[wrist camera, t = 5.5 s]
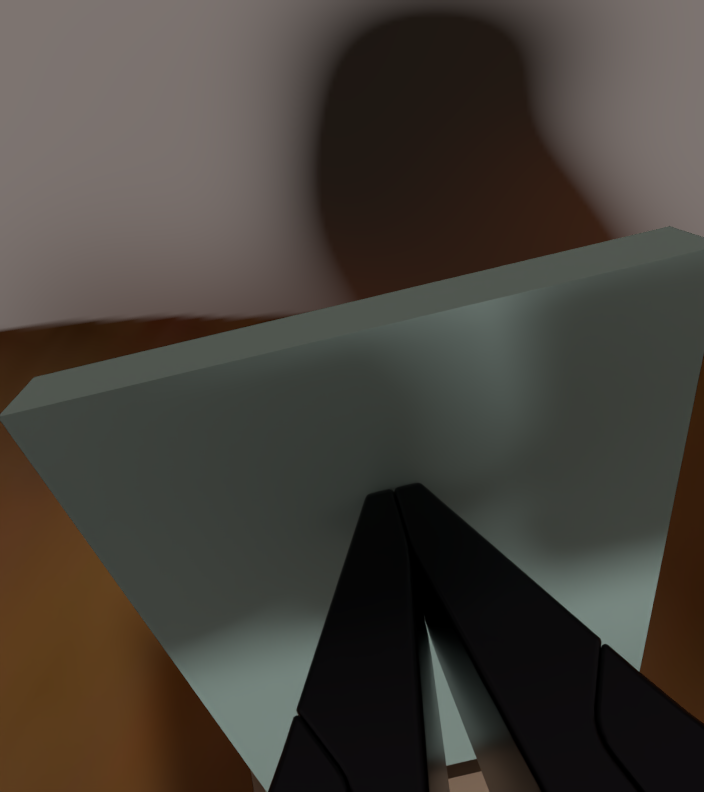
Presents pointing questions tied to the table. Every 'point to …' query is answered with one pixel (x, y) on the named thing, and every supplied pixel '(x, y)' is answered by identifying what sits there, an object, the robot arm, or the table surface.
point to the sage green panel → (383, 458)
